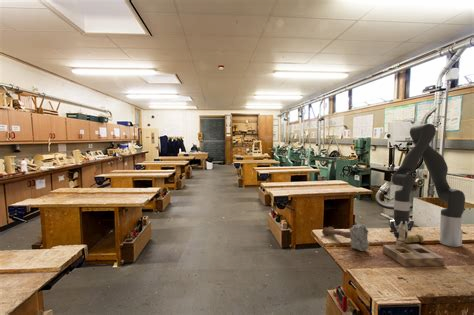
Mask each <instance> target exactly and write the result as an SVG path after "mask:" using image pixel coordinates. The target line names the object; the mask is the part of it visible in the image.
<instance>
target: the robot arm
mask: <svg viewBox="0 0 474 315" xmlns="http://www.w3.org/2000/svg"><path fill="white" fill-rule="evenodd" d="M436 133H437V129H436V127H435V125H434V124H433V123H423V124H418V125H414V126H412V127H411V128H410V129H409V135H410V138H411V141H413V143H414V146H412V148H411V149H410V150H409V151H408V152H407V153H406V155H405V156H404V157H403V160H402V163H401V165H400V166H399V167H398V168H397V169H396V171H395V172H394V173H393V175H392V176H391V183H392V184H393V185H395V186H399V187H402V188H401V189H397V190H395V192H394V203H393V219H391V220H390V219H389V220H388V224H389V228H390V230H393V231H394V233H393V234H394V238H395V239H396V238H399V229H400V228H401V225H402V224H405V238H407V235H408V232H409V231H410V232H411V231H412V229H413V226H414V223H415V221H414V220H411V219H410V212H411V204H410V199H411V198H410V197H411V192H412V189H413V186H414V185H415V184H414V183H415V179H414V176H413V175H411V174H410V173H414V172H415V171H416V169H417V166H418V164H419V161H420V160H421V158H422V159H423V163H424V165H425V167H426V170H427V172H428V173H429V175H430V177H431V181H432V182H433V185H434V189H435V192H436V195H437V197H438V199H439V201H441V202H442V203H444V204H447V206H446V207H447V208H442V209H441V210H440V219H439V220H440V222H439V225H440V227H439V243H440V244H442V245H443V246H448V247H453V248H459V247H462V245H463V229H462V217H463V216H462V215H463V214H464V213H465V212H464V211H465V203H466V195H465V192H463V191H462V190H459V189H456V188H452V187H451V186H450V185H449V183H448V181H447V175H448V171H449V169H448V168H449V167H448V164H447V162H446V161H445V158H444V156H443V155H442V154H441V153H439V152H438V151H437V149H436V150H435V149H434V148H433V147H432V146H431V145H430V144H431V143H432V141H433V139H434V138H435V136H436ZM397 225H398V226H397Z"/></svg>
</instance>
